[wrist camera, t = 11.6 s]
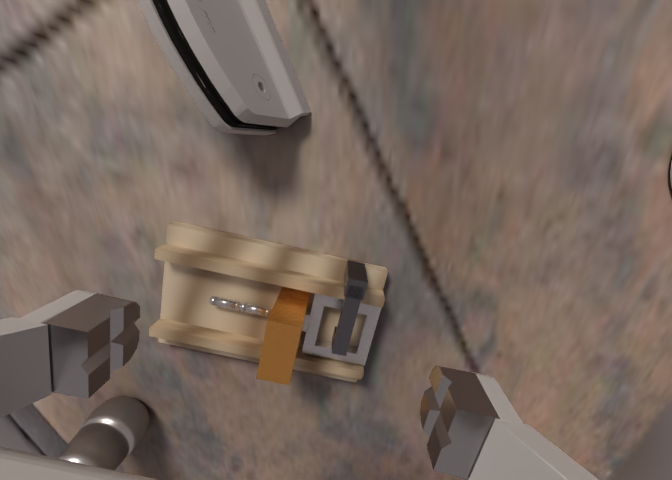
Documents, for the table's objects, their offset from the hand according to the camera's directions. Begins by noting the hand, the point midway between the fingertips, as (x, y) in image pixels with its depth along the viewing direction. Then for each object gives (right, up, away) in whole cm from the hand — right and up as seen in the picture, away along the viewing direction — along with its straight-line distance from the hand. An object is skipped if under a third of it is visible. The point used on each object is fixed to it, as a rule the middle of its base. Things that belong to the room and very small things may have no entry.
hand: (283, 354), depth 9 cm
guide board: (-6, -4, +27) cm, 28 cm away
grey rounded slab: (-8, +21, +21) cm, 30 cm away
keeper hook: (+3, -3, +25) cm, 25 cm away
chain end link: (-3, -5, +26) cm, 26 cm away
